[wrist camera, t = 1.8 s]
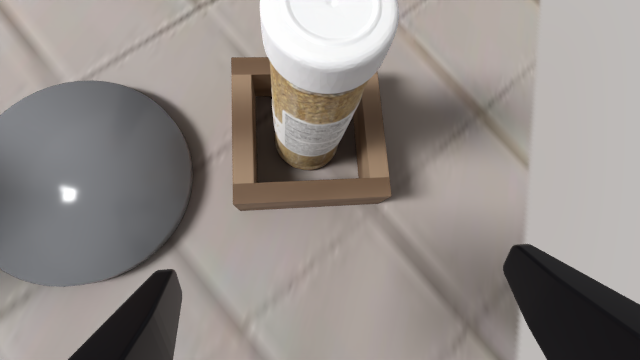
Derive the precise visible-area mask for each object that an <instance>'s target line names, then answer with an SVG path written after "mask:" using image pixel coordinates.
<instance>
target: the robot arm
mask: <svg viewBox="0 0 640 360" xmlns="http://www.w3.org/2000/svg"><path fill="white" fill-rule="evenodd" d="M503 271H504V275H505V277H506V279H507V281H508V283H509V286H510V288H511V290H512V292H513V294H514V297H515V299H516V301H517V303H518V305H519V308H520V310H521V312H522V314H523V316H524V319H525V321H526V323H527V325H528V327H529V329H530V330H531V332H532V334H533V336H534V337H535V339H536V341H537V343H538V344H539V346H540V348H541V350H542V351H543V353H544V355H545V357H546V358H547V360H640V305H639V304H638V303H636V302H634V301H632V300H630V299H629V298H626V297H625V296H623V295H621V294H619V293H618V292H616V291H614V290H612V289H610V288H608V287H607V286H604V285H603V284H601V283H599V282H598V281H596V280H594V279H592V278H590V277H588V276H587V275H585V274H583V273H581V272H579V271H578V270H576V269H574V268H572V267H570V266H568V265H567V264H565V263H563V262H561V261H559V260H558V259H556V258H554V257H552V256H550V255H549V254H547V253H545V252H543V251H541V250H539V249H538V248H536V247H534V246H532V245H530V244H519V245H514V246H513V247H512V248H511V250H510V252H509V254H508V256H507V258H506V261H505V263H504V265H503ZM181 303H182V290H181V287H180V284H179V281H178V277H177V274H176V272H175V270H173V269H167V270H158V271H156V272H154V273H153V274H152V275H151V276H150V277H149V278H148V279H147V280H146V281H145V282H144V283H143V284H142V285H141V286H140V287H139V288H138V289H137V290H136V291H135V292H134V293H133V294H132V295H131V296H130V297H129V298H128V299H127V300H126V301H125V302H124V303H123V304H122V305H121V306H120V307H119V308H118V309H117V310H116V312H115V313H114V314H113V315H112V316H111V317H110V318H109V319H108V320H107V321H106V322H105V323H104V324H103V325H102V326H101V327H100V328H99V329H98V330H97V331H96V332H95V333H94V334H93V335H92V336H91V337H90V338H89V339H88V340H87V341H86V342H85V343H84V344H83V345H82V346H81V347H80V348H79V349H78V350H77V351H76V352H75V353H74V354H73V355H72V356H71V357H70V358H69V359H68V360H173V355H174V349H175V343H176V336H177V329H178V323H179V316H180V309H181Z"/></svg>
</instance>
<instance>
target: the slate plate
mask: <svg viewBox="0 0 640 360" xmlns="http://www.w3.org/2000/svg"><path fill="white" fill-rule="evenodd" d="M192 183H193V166H192V159H191V154H190V151H189V147H188V144H187V142H186V140H185V138H184V136H183V134H182V132H181V130H180V129H179V127H178V126H177V124H176V123H175V122H174V121H173V120H172V118H171V117H170V116H169V115H168V114H167V113H166V112H165V110H164V109H163V108H162V107H160V106H159V105H158V104H157V103H156V102H155V101H153V100H152V99H150V98H149V97H147V96H146V95H144V94H142V93H140V92H138V91H136V90H134V89H132V88H129V87H126V86H123V85H120V84H115V83H110V82H103V81H75V82H68V83H63V84H59V85H55V86H51V87H48V88H45V89H43V90H40V91H37V92H35V93H33V94H31V95H29V96H27V97H25V98H23V99H22V100H20V101H19V102H17V103H16V104H14V105H12V106H11V107H10V108H9V109H7V110H6V111H5V112H4V113H2V114H1V115H0V269H1V270H3V271H4V272H6V273H8V274H10V275H12V276H14V277H16V278H18V279H21V280H24V281H27V282H30V283H34V284H40V285H46V286H63V287H65V286H75V285H84V284H90V283H95V282H99V281H104V280H107V279H110V278H113V277H116V276H119V275H121V274H123V273H125V272H127V271H129V270H131V269H133V268H135V267H136V266H138V265H139V264H141V263H143V262H144V261H146V260H147V259H148V258H149V257H151V256H152V255H153V254H154V253H155V252H157V251H158V250H159V249H160V248H161V247H162V246H163V245H164V243H165V242H166V241H167V240H168V239H169V238H170V236H171V235H172V234H173V232H174V231H175V230H176V228H177V226H178V225H179V223H180V221H181V219H182V218H183V215H184V213H185V211H186V208H187V206H188V202H189V199H190V195H191V190H192Z"/></svg>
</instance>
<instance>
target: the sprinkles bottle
mask: <svg viewBox="0 0 640 360" xmlns="http://www.w3.org/2000/svg"><path fill="white" fill-rule="evenodd" d="M260 19H261V29H262V38H263V44H264V48H265V52H266V54H267V56H268V58H269V61H270V71H271V85H272V89H271V91H272V111H273V122H274V128H275V146H276V149H277V151H278V153H279V155H280V156H281V157H282V158H283V160H284V161H285V162H287V163H288V164H290V165H291V166H293V167H294V168H298V169H302V170H313V169H318V168H320V167H322V166H324V165H325V164H327V163H328V162H329V161H330V160H331V159H332V158H333V156H334V155H335V153H336V151H337V147H338V143H339V142H340V140H341V139H342V137H343V135H344V133H345V131H346V129H347V127H348V125H349V123H350V121H351V119H352V117H353V115H354V113H355V111H356V109H357V107H358V105H359V103H360V100H361V97H362V93H363V91H364V88H365V86H366V84H367V82H368V80H369V79H371V77H372V76H373V75H374V74H375V73H376V72H377V70H378V69H379V68H380V66H381V64H382V62H383V60H384V58H385V56H386V54H387V52H388V50H389V48H390V46H391V43H392V41H393V39H394V36H395V34H396V30H397V27H398V19H399V9H398V2H397V0H260Z"/></svg>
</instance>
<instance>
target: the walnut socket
mask: <svg viewBox="0 0 640 360" xmlns="http://www.w3.org/2000/svg"><path fill="white" fill-rule="evenodd" d="M231 66H232V161H233V205H234V206H235V207H236V208H238V209H239V210H240V211H246V210H265V209H284V208H303V207H322V206H341V205H360V204H378V203H380V202H382V201H384V200H386V199H387V198H389V197H391V188H390V179H389V170H388V162H387V153H386V144H385V135H384V126H383V117H382V108H381V100H380V91H379V82H378V73H377V72H376V73H375V74H374V75H373V76H372V77H371V79H369V80H368V82H367V84H366V86H365V88H364V91H363V93H362V97H361V100H360V103H359V105H358V107H357V109H356V111H355V113H354V115H353V122H354V133H355V143H356V154H357V165H358V176H359V178H356V179H333V180H310V181H288V182H265V183H258V173H257V136H256V98H255V97H258V96H272V91H271V89H272V85H271V71H270V61H269V58H268V57H251V58H231Z"/></svg>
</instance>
